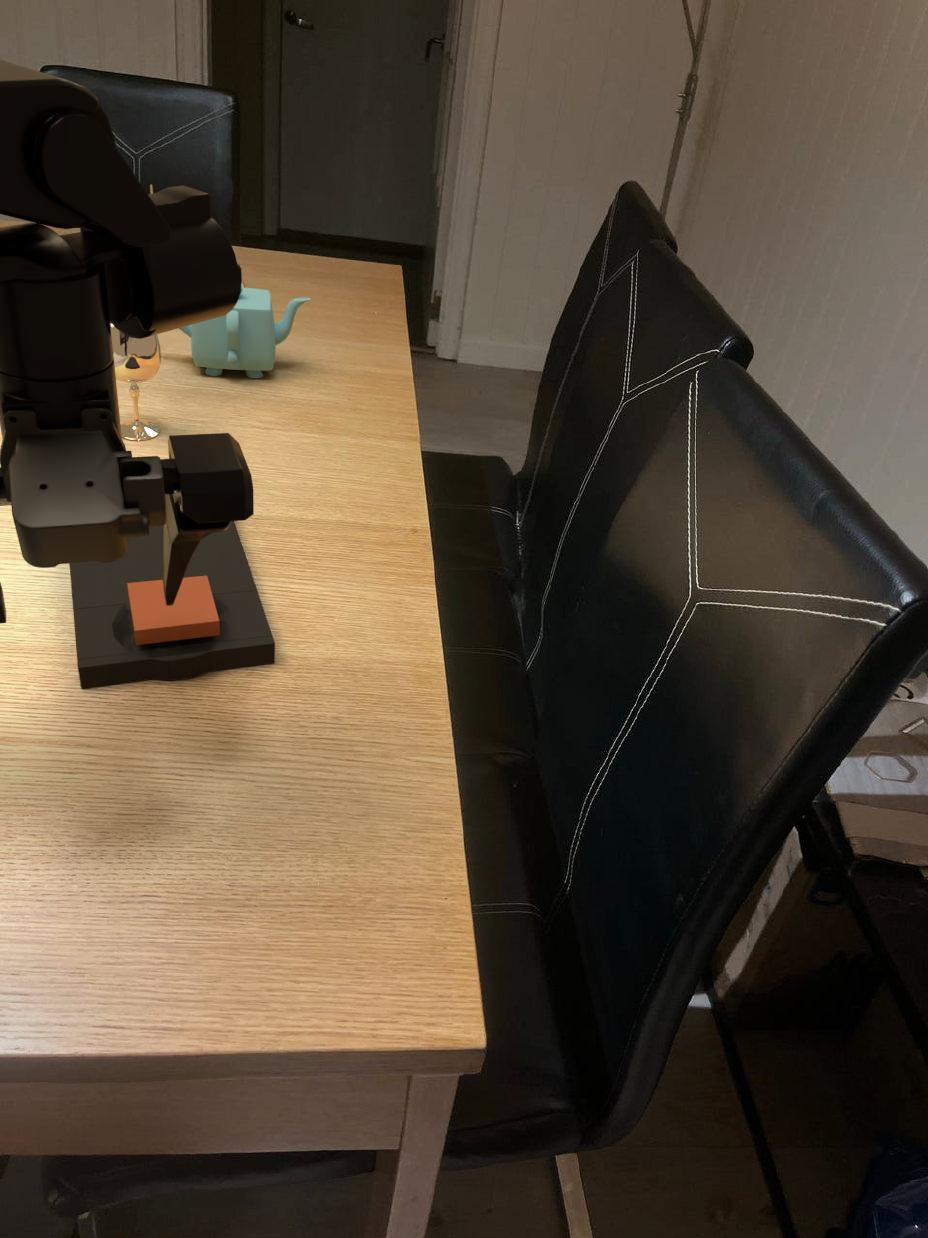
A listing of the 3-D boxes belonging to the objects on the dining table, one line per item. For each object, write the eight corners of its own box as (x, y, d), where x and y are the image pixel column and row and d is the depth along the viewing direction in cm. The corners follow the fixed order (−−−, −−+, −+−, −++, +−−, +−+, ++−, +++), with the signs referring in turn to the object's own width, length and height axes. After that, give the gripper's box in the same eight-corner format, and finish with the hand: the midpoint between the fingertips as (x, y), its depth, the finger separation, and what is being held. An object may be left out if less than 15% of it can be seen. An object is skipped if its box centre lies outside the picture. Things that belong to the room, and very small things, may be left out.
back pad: (276, 666, 70) (276, 646, 69) (81, 693, 65) (78, 672, 64) (220, 495, 89) (219, 477, 88) (66, 505, 84) (63, 486, 83)
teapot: (156, 382, 108) (150, 296, 102) (165, 338, 118) (160, 258, 112) (310, 390, 112) (313, 308, 106) (305, 346, 122) (308, 270, 116)
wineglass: (108, 443, 94) (96, 330, 87) (110, 418, 99) (98, 309, 92) (166, 443, 96) (159, 332, 89) (165, 419, 100) (158, 311, 93)
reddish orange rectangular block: (138, 672, 68) (134, 630, 65) (131, 623, 72) (126, 582, 70) (221, 661, 70) (219, 620, 68) (208, 615, 74) (207, 575, 72)
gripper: (-201, 442, 36) (-105, 728, 45) (275, 423, 42) (272, 675, 52) (-162, 335, 44) (-87, 597, 53) (233, 333, 50) (238, 566, 60)
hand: (88, 610), depth 54 cm, fingers open, 9 cm apart
